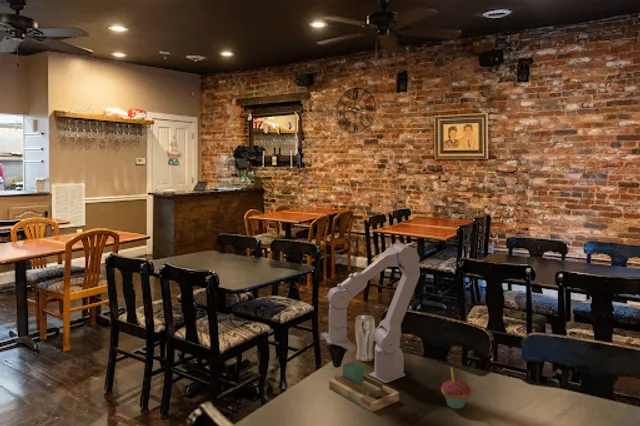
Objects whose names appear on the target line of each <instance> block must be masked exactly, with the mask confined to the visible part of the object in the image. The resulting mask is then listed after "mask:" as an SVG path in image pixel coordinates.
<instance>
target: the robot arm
mask: <svg viewBox="0 0 640 426" xmlns="http://www.w3.org/2000/svg"><path fill="white" fill-rule="evenodd" d="M420 258H421V257H420V256H419V254H418V252H417V251H416V249H415V248H413V247H411V246H408V245H407V244H405V243H402V242H394V243H393V244H392V245H391V246H390V247H388V248H386V249H385V250H384V252H383V253H382V254H380V255H379V256H378V257H377V258H376V259H375V260H373V261H372V262H371V263H370V264H369V265H368V266H367V267H365V268H364V270H362V271H361V272H357V271H356V272H354V273H352V272H351V273H350V274H349V275H348V277H347V278H345V280H344V281H343V282H341V283H338V284H336V286H335V287H332V288H330V289H329V290H328V293H327V295H326V299H327V301H328V302H329V303H328V332H327V331H325V332H322V333H320V340H324V341H326V344H327V345H326V348H327V350H328V353H329V355H330V357H331V361H332V366H333V367H334V368H335V369H339V368H340V367H341V366H342V365H343V364H342V363H343V360H344V357H345V354H346V353H347V351H348V352H349V353H353V352H355V351H356V344H355V343H354V342H351V341H350V340H349V339H348V338H347V329H348V328H347V327H348V326H347V323H348V321H347V319H348V318H347V317H348V313H347V307H348V306H349V303H350V301H351V299H353V298H354V297H355V296H357V295H358V294H359V293H361V292H362V291H363V290H364V289H365V288H367V285H368V281H370V280H371V279H372V278H375V276H377V275H378V274H380V273H381V272H383V271H384V270H385V269H387V268H388V267H390V268H391V267H393V268H394V267H396V268H397V267H398V269H399V270H400V272H401V277H400V280H399V282H398V284H397V287H396V290H395V292H394V295H393V297H392V300H391V303H390V305H389V308H388V310H387V313H386V316H385V318H384V319H382V320H381V321H380V322H379V325H378V326H377V327H375V331H374V333H373V339H374V340H373V342H375V347H374V371H372V372H369V373H368V376H369V377H371V378H373V379H375V380H377V381H379V382H381V383H383V384H388V383H390V382H393V381H395V380H397V379H401V378H402V377H406V373H404V372H405V371H404V361H405V360H404V359H405V357H404V352H403V350H402V349H401V348H400V347H401V342H400V341H401V336H402V328H401V325H402V323H403V320H404V317H405V316H406V313H407V309H408V307H409V304H410V302H411V299H412V297H413V294H414V291H415V290H416V287H417V284H418V282H419V279H420V276H421V271H420Z"/></svg>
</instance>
